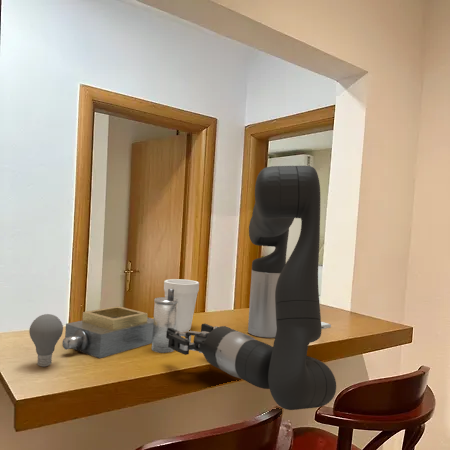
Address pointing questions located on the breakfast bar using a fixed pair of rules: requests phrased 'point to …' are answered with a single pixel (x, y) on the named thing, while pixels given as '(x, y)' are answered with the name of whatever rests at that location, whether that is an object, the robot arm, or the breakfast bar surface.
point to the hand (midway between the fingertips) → (185, 330)
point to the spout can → (164, 321)
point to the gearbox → (109, 331)
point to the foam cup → (183, 300)
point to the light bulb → (45, 336)
